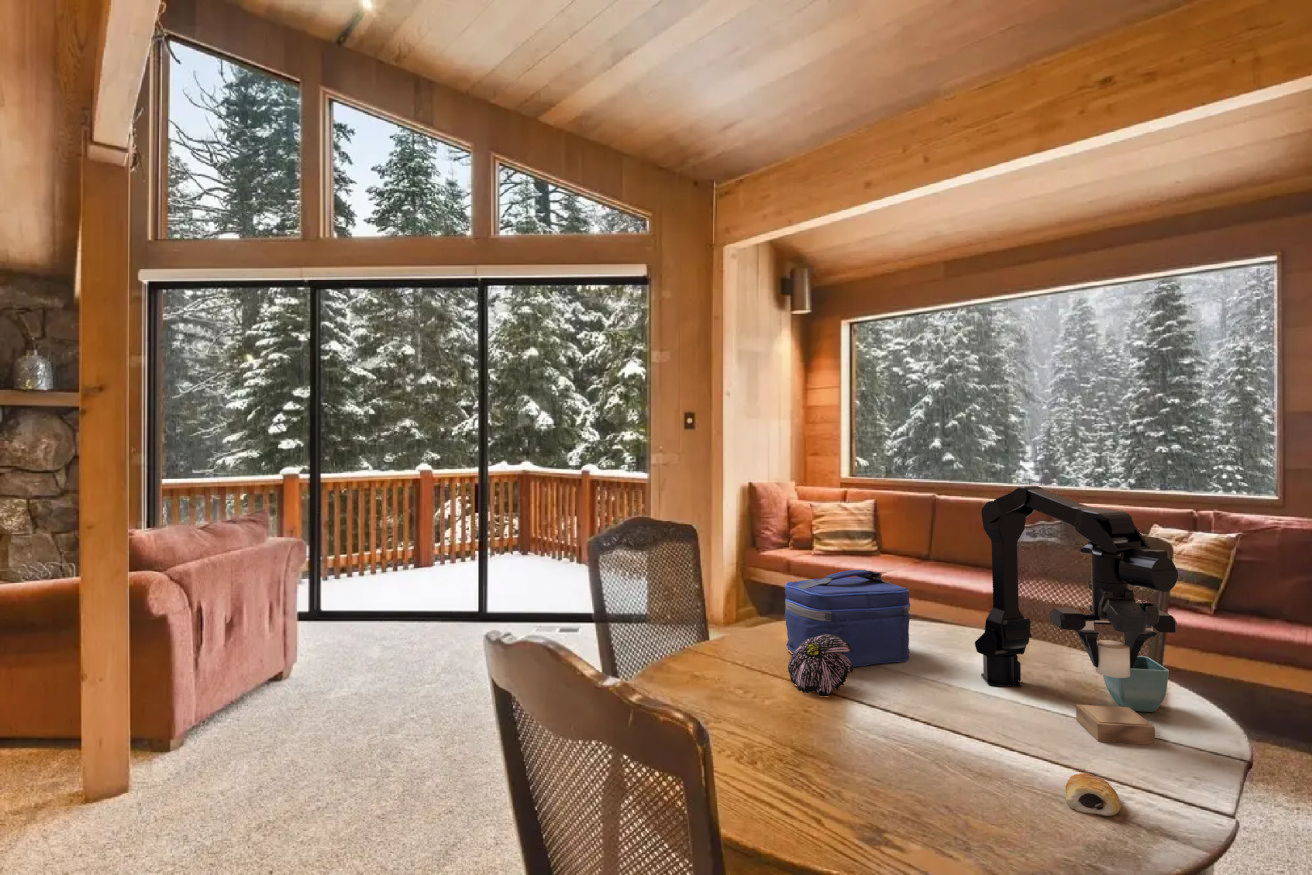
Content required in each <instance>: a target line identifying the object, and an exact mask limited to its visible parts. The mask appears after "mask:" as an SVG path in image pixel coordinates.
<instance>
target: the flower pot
mask: <svg viewBox="0 0 1312 875" xmlns="http://www.w3.org/2000/svg"><path fill="white" fill-rule="evenodd" d="M1169 674H1170V670H1169V669H1168V668H1166V667H1164V666H1163V665H1162V664H1160V663H1158V662H1157V661H1155V660H1153V659H1152V658H1150V657H1149V656H1144V655H1138V656H1137V658H1136V661H1135V663H1134V666H1133V668H1132V669H1130V677H1127V678H1115V677H1109V676H1105V675H1102V678H1103V682H1104V684H1105V686H1106V689H1107V691H1108V693H1109V695H1110V696H1111V698H1112V700H1113V701H1114V702H1115V703H1116V704H1117V705H1118V706H1119V707H1129V708H1131V709H1132V710H1133V711H1135V712H1143V713H1144V712H1147V713H1153V712H1155V711H1156V710H1157V709H1158V708H1159V707H1160V706H1161V705H1162V703H1163V701H1164V700H1165V697H1166V694H1167V689H1168V680H1169Z"/></svg>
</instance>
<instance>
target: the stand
mask: <svg viewBox="0 0 1312 875" xmlns="http://www.w3.org/2000/svg"><path fill="white" fill-rule="evenodd" d="M1075 711H1076V712H1075V714H1076V716H1075V717H1076V718H1075V720H1077V721H1076V723H1078V724H1079V723H1080V724H1081V725H1080V724H1079V725H1080V726H1081V727H1082V728H1083V729H1084V730H1086V732H1088V733H1089V734H1090V735H1091V737H1093V738H1094V739H1095V740H1096V741H1097V742H1102V741H1104V743H1121V744H1137V745H1138V744H1139V745H1153V744H1155V745H1156V727H1155V726H1154V725H1153V724H1152V723H1150V722H1149V721H1148V720H1146V719H1145V718H1143V717H1142V716H1141V715H1140V714H1139V713H1137V711H1133V710H1132V709H1131V708H1129V707H1121V706H1109V705H1090V704H1075Z"/></svg>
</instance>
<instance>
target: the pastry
mask: <svg viewBox="0 0 1312 875" xmlns="http://www.w3.org/2000/svg"><path fill="white" fill-rule="evenodd" d="M1065 797H1066V798H1065V802H1066V804H1067V805H1068V807H1069V808H1070V809H1072V810H1076V811H1078V812H1080V813H1086V814H1093V815H1099V816H1103V817H1113V816H1116V815H1118V814H1119V812H1120V810H1121V808H1122V806H1121V802H1120V797H1119V795H1118V793H1117V791H1116V790H1115V789H1114V787H1112V786H1111V785H1110V784H1109V782H1108V781H1107V780H1105V779H1104V778H1102V777H1099V776H1096V775H1094V774H1091V773H1089V772H1088V773H1087V772H1082V773H1079V774H1078V773H1077V774H1073V775H1071V776H1070V777H1069V779H1068V780H1067V781H1066V784H1065Z"/></svg>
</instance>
